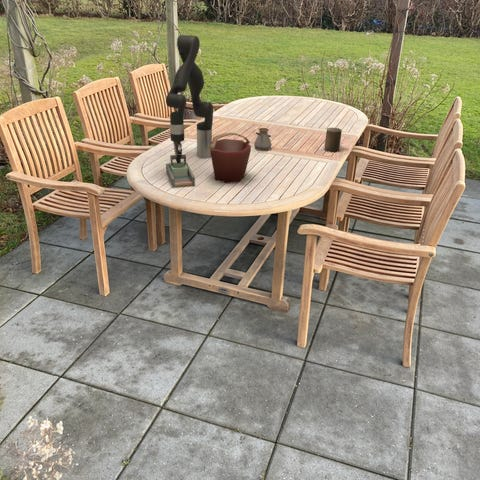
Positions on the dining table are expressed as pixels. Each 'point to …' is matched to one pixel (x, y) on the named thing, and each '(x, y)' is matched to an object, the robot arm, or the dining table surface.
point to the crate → (178, 167)
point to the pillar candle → (333, 139)
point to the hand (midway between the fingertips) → (178, 162)
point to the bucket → (229, 158)
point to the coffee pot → (262, 140)
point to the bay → (181, 178)
